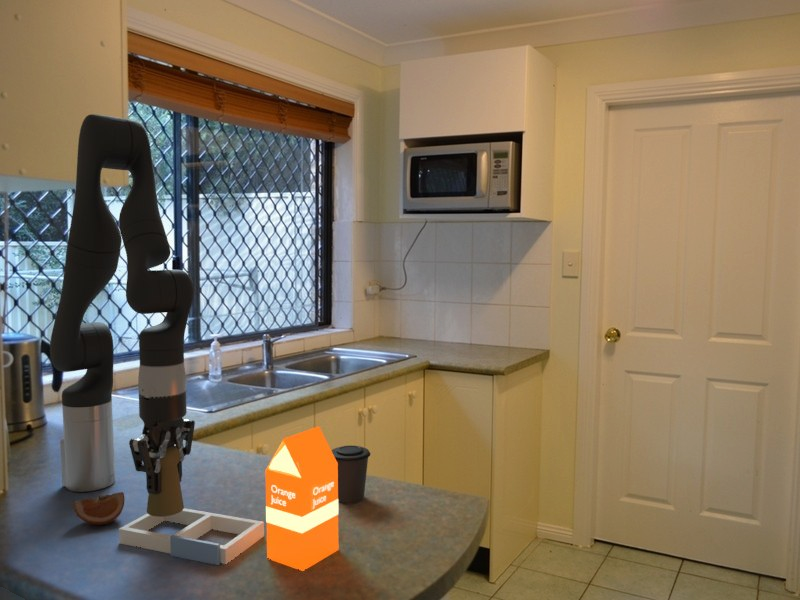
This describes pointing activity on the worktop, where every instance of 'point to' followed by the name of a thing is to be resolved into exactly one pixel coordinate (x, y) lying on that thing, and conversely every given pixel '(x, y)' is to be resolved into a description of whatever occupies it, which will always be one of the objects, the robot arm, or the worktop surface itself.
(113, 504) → the fruit slice
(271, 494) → the orange juice
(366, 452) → the coffee cup
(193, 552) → the white flat rectangular frame
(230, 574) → the worktop surface
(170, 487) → the olive rounded piece
